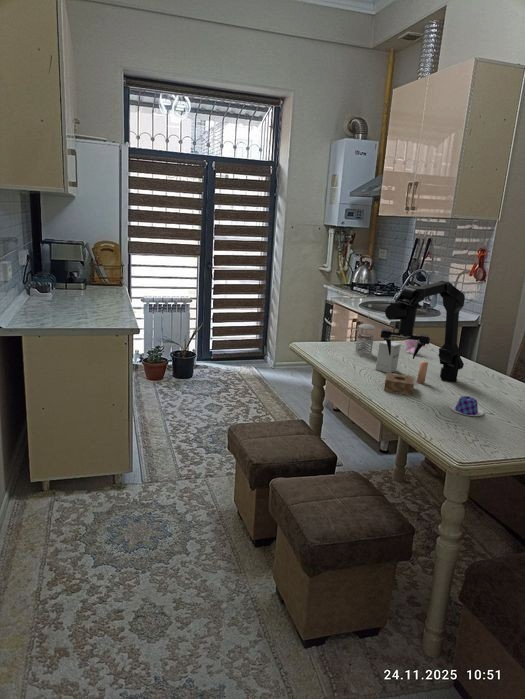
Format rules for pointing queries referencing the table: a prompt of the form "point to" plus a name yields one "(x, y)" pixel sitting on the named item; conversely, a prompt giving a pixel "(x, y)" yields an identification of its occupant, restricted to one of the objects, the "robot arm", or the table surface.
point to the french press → (369, 340)
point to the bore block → (399, 383)
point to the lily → (411, 345)
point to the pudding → (467, 406)
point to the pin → (422, 372)
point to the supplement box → (388, 357)
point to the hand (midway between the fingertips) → (401, 357)
